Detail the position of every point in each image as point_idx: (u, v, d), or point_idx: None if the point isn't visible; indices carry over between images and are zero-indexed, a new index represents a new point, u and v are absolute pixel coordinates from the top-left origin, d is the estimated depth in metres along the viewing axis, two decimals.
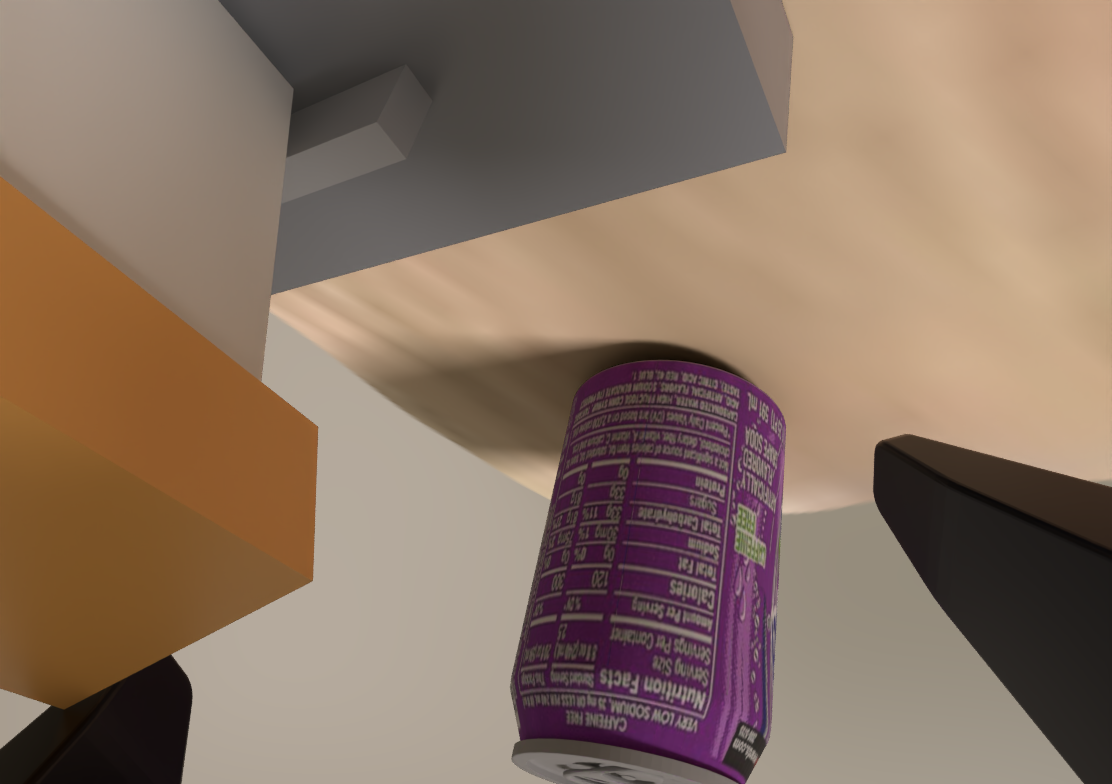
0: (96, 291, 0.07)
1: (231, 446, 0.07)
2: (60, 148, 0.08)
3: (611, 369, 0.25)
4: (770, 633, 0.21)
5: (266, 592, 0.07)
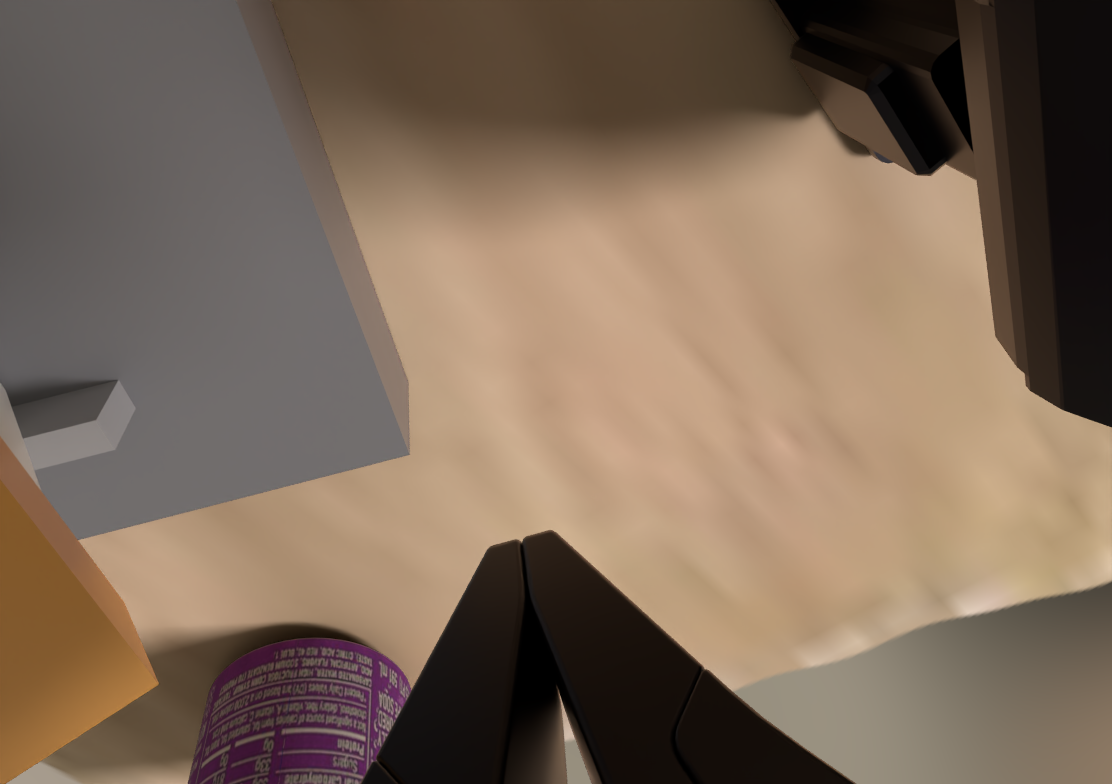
0: (25, 478, 0.10)
1: (101, 590, 0.10)
2: None
3: (252, 652, 0.27)
4: None
5: (121, 697, 0.10)
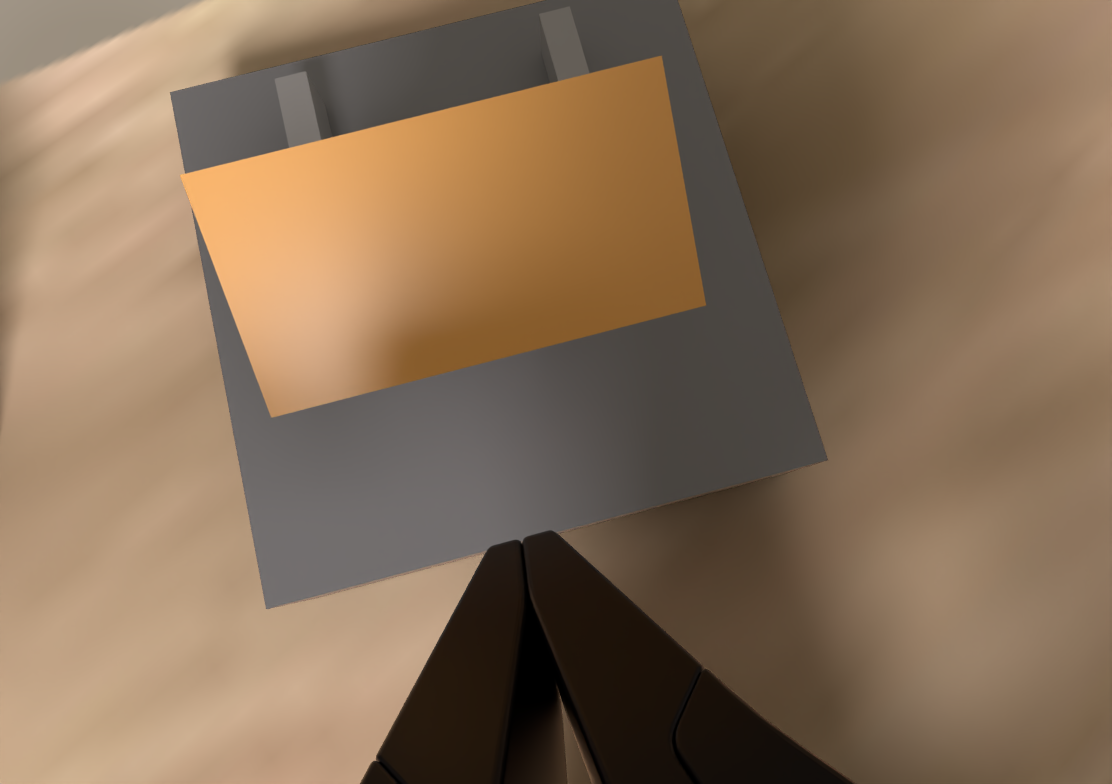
0: None
1: None
2: None
3: None
4: None
5: (272, 385, 0.10)
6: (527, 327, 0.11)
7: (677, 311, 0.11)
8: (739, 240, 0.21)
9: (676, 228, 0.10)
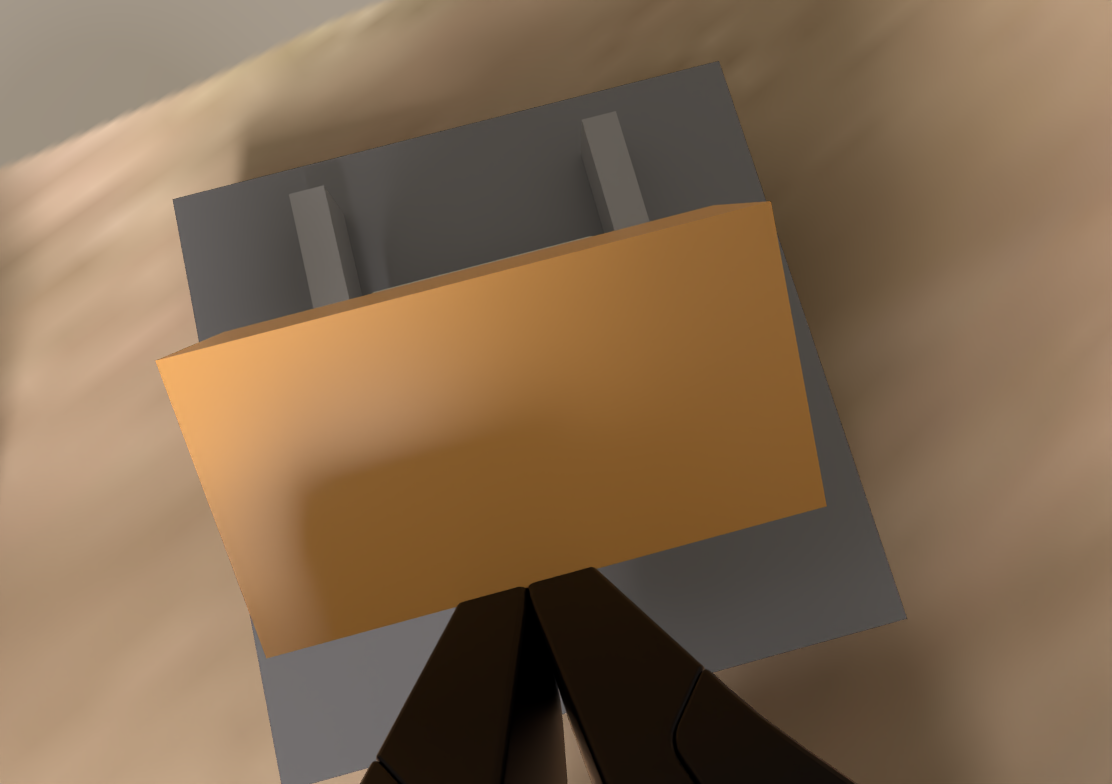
0: None
1: None
2: None
3: None
4: None
5: (268, 618, 0.08)
6: (597, 538, 0.08)
7: (790, 514, 0.08)
8: (803, 366, 0.19)
9: (788, 413, 0.08)
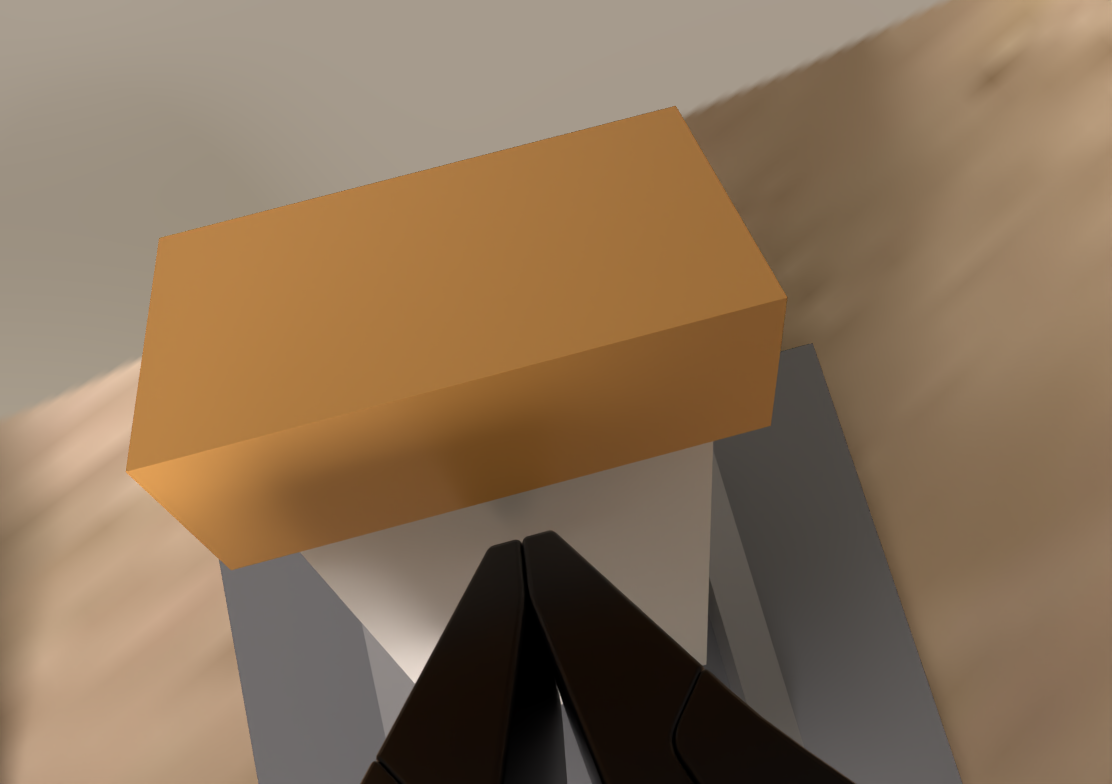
0: (468, 482, 0.08)
1: (292, 489, 0.08)
2: (544, 528, 0.10)
3: None
4: None
5: (147, 430, 0.07)
6: (518, 340, 0.07)
7: (742, 303, 0.07)
8: (916, 710, 0.17)
9: (721, 225, 0.08)
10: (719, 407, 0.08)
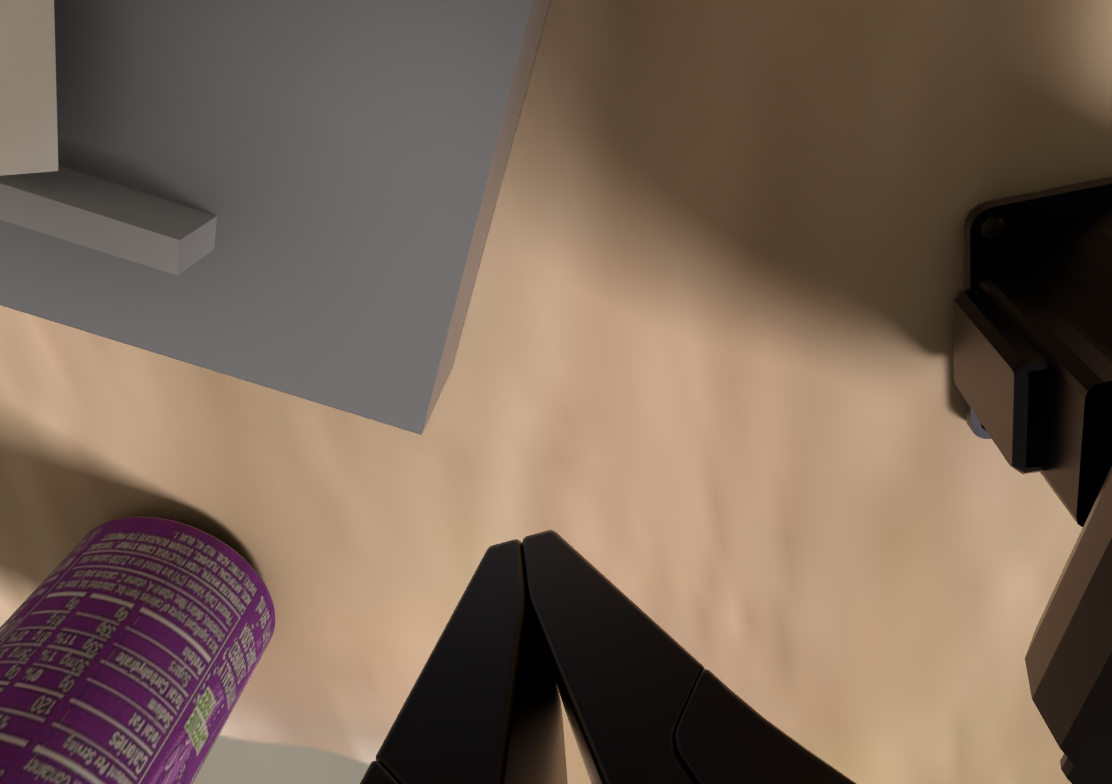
0: None
1: None
2: None
3: (155, 519, 0.26)
4: None
5: None
6: None
7: None
8: None
9: None
10: None
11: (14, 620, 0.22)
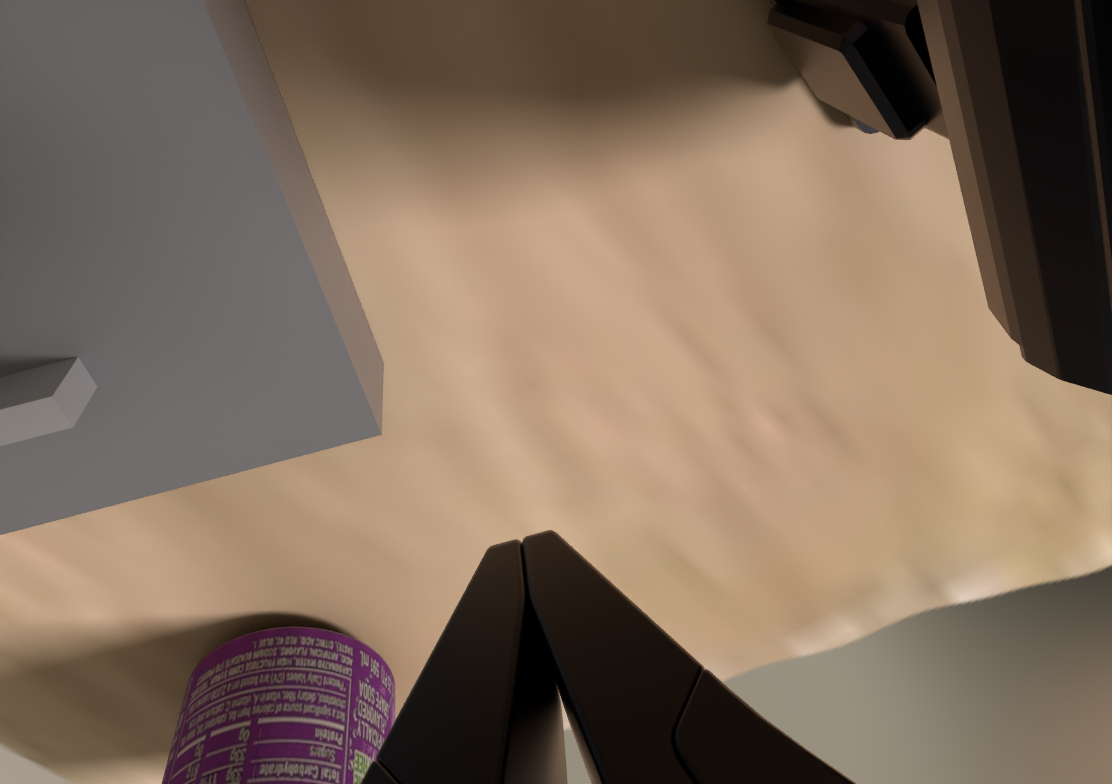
0: None
1: None
2: None
3: (231, 642, 0.26)
4: None
5: None
6: None
7: None
8: None
9: None
10: None
11: None
